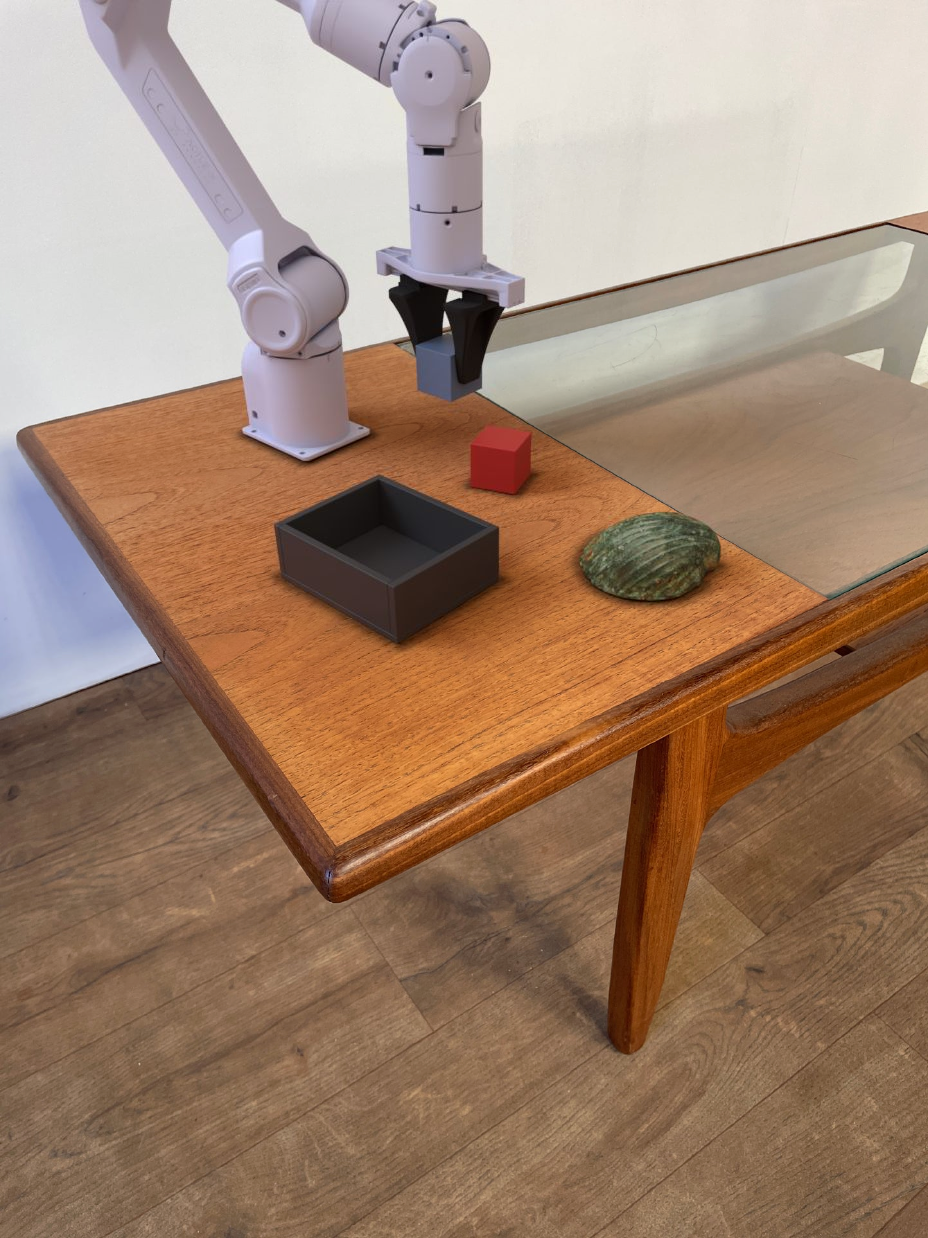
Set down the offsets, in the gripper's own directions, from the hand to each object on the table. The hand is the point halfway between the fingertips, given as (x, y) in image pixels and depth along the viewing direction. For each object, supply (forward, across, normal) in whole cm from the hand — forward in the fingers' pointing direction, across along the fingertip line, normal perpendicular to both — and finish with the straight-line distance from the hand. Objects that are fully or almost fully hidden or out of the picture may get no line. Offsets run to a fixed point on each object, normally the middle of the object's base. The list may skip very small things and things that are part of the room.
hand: (449, 374), depth 82 cm
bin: (+7, -11, +18) cm, 22 cm away
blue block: (+1, 0, 0) cm, 1 cm away
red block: (+7, -7, +1) cm, 10 cm away
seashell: (+8, -24, +4) cm, 25 cm away
